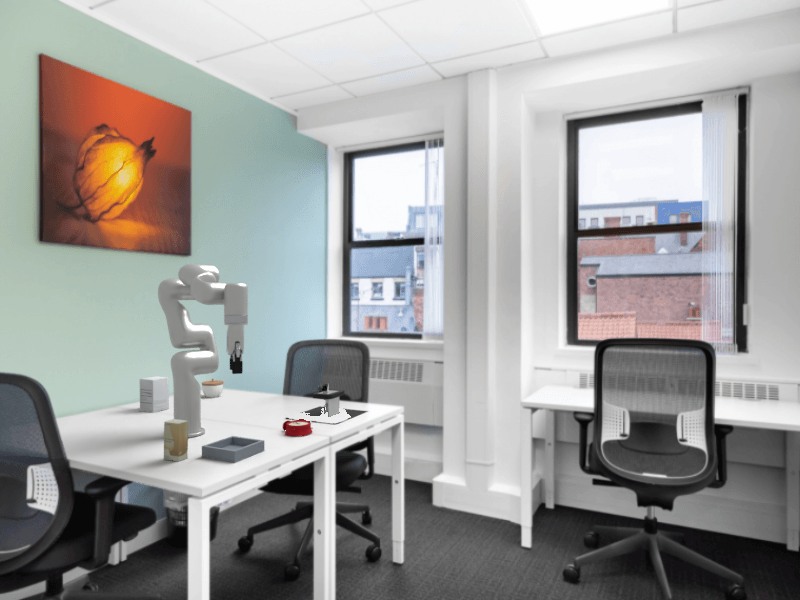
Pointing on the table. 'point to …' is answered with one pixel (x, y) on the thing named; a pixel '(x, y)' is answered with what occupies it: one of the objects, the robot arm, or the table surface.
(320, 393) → the black-topped pedestal
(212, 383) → the lidded jar
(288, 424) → the alarm clock
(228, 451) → the tray
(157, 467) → the table surface
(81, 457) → the table surface
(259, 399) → the table surface
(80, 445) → the table surface
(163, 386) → the supplement box
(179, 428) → the skincare box
